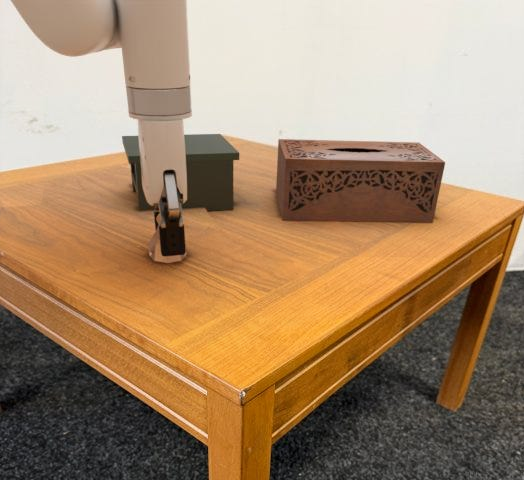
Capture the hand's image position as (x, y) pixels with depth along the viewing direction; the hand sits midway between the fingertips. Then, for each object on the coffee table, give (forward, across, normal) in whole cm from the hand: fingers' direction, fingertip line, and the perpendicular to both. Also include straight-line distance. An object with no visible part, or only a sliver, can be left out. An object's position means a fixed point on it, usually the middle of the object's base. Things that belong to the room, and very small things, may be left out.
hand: (170, 245), depth 75 cm
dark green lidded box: (+2, -27, +5) cm, 28 cm away
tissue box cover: (+3, -18, +34) cm, 39 cm away
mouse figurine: (+2, -2, 0) cm, 3 cm away
